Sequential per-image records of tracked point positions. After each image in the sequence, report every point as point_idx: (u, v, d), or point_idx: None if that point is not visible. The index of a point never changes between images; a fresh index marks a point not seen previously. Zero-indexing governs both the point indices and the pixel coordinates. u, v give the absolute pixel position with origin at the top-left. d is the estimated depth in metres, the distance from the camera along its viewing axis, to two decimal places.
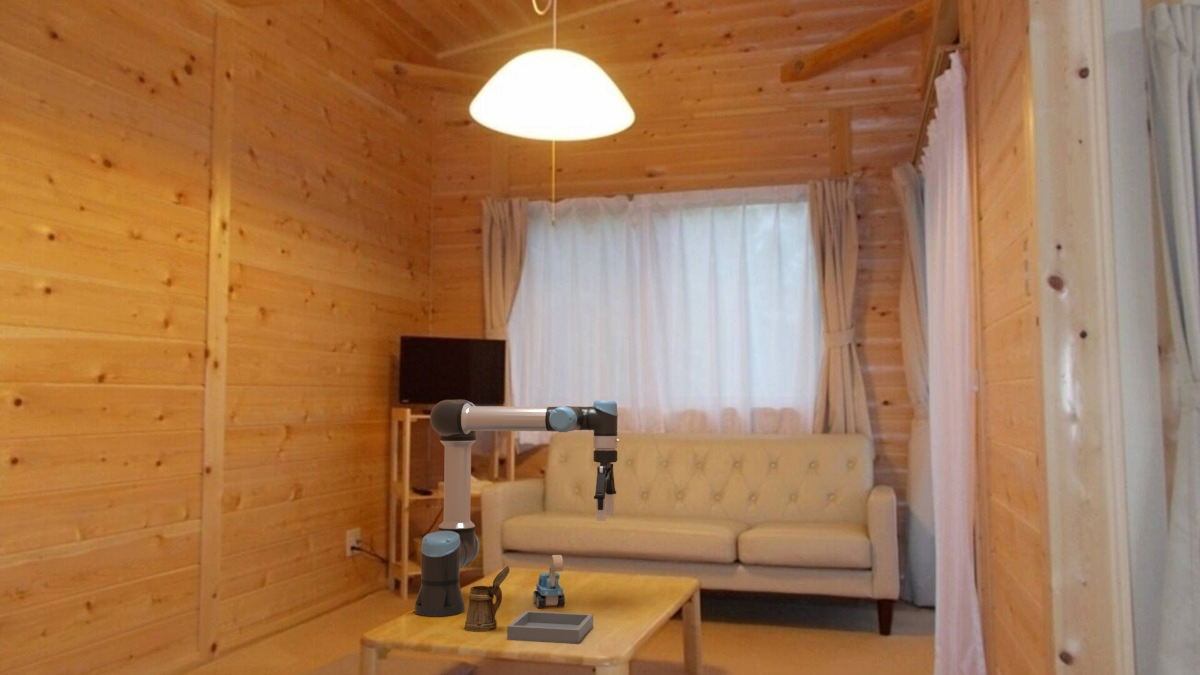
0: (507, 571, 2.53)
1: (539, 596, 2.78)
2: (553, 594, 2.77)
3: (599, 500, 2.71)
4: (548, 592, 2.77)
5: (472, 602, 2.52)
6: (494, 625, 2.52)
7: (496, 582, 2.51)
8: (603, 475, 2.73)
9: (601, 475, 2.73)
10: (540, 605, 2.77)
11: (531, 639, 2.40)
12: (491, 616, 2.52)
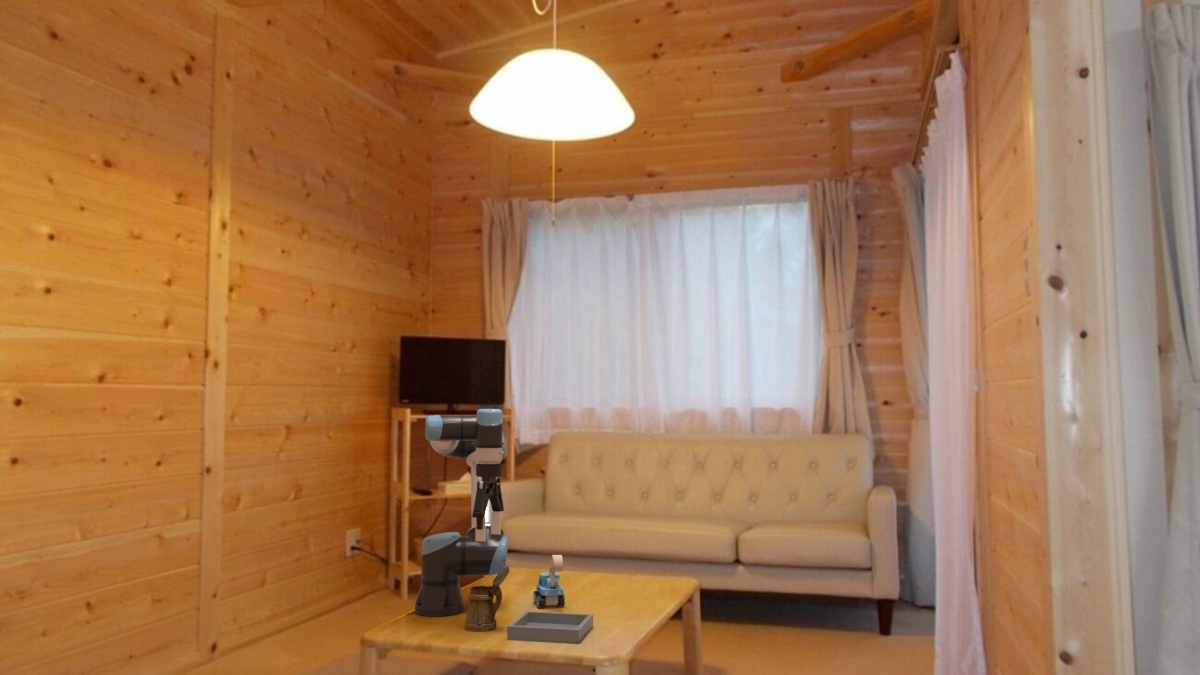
0: (507, 571, 2.53)
1: (539, 596, 2.78)
2: (553, 594, 2.77)
3: (478, 519, 2.47)
4: (548, 592, 2.77)
5: (472, 602, 2.52)
6: (494, 625, 2.52)
7: (496, 582, 2.51)
8: (483, 491, 2.49)
9: (481, 491, 2.49)
10: (540, 605, 2.77)
11: (531, 639, 2.40)
12: (491, 616, 2.52)
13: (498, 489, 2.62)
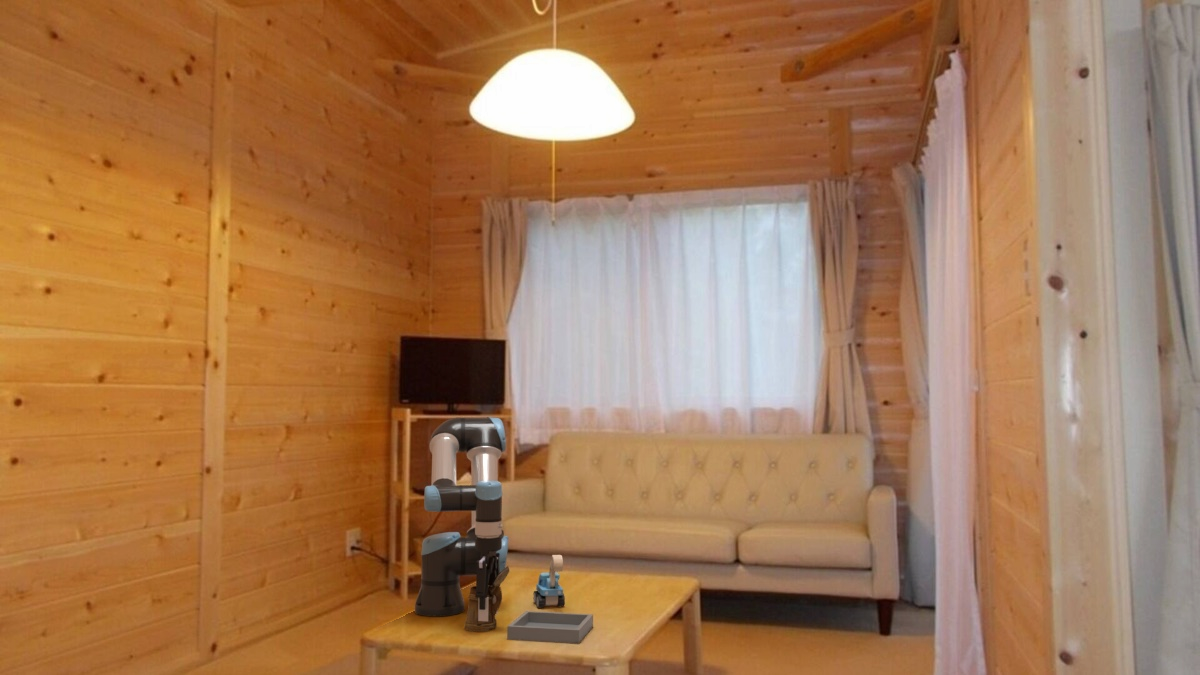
0: (507, 571, 2.53)
1: (539, 596, 2.78)
2: (553, 594, 2.77)
3: (481, 599, 2.49)
4: (548, 592, 2.77)
5: (472, 602, 2.52)
6: (494, 625, 2.52)
7: (496, 582, 2.51)
8: (483, 571, 2.48)
9: (481, 571, 2.48)
10: (540, 605, 2.77)
11: (531, 639, 2.40)
12: (491, 616, 2.52)
13: (496, 564, 2.60)
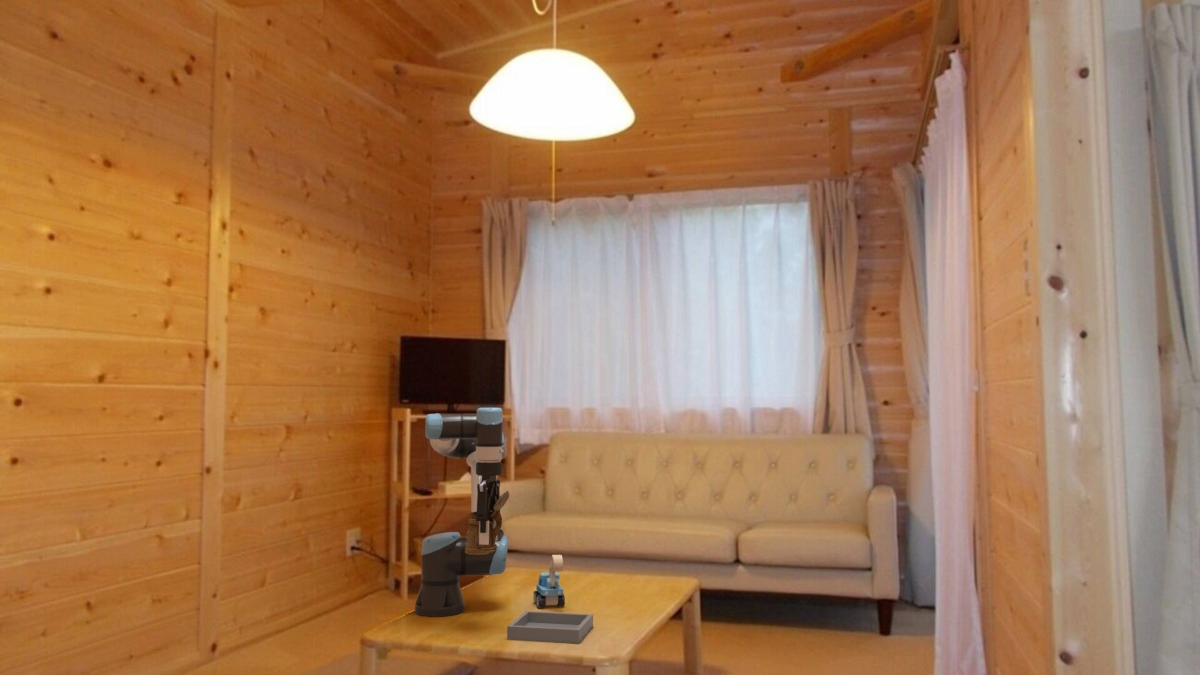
0: (507, 496, 2.54)
1: (539, 596, 2.78)
2: (553, 594, 2.77)
3: (481, 522, 2.50)
4: (548, 592, 2.77)
5: (472, 526, 2.53)
6: (494, 549, 2.54)
7: (496, 506, 2.52)
8: (484, 494, 2.50)
9: (482, 494, 2.50)
10: (540, 605, 2.77)
11: (531, 639, 2.40)
12: (491, 540, 2.54)
13: (497, 491, 2.61)
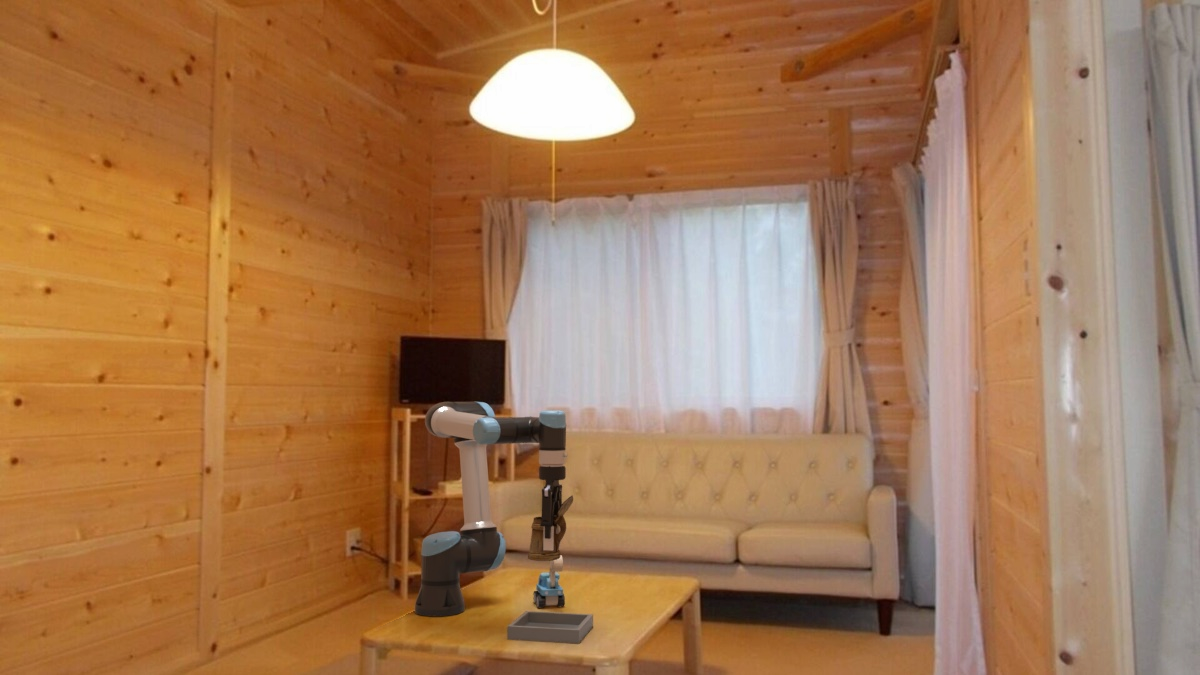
0: (571, 500, 2.49)
1: (539, 596, 2.78)
2: (553, 594, 2.77)
3: (546, 528, 2.45)
4: (548, 592, 2.77)
5: (536, 532, 2.48)
6: (558, 555, 2.49)
7: (560, 511, 2.47)
8: (549, 499, 2.45)
9: (546, 499, 2.45)
10: (540, 605, 2.77)
11: (531, 639, 2.40)
12: (555, 546, 2.49)
13: (559, 496, 2.56)
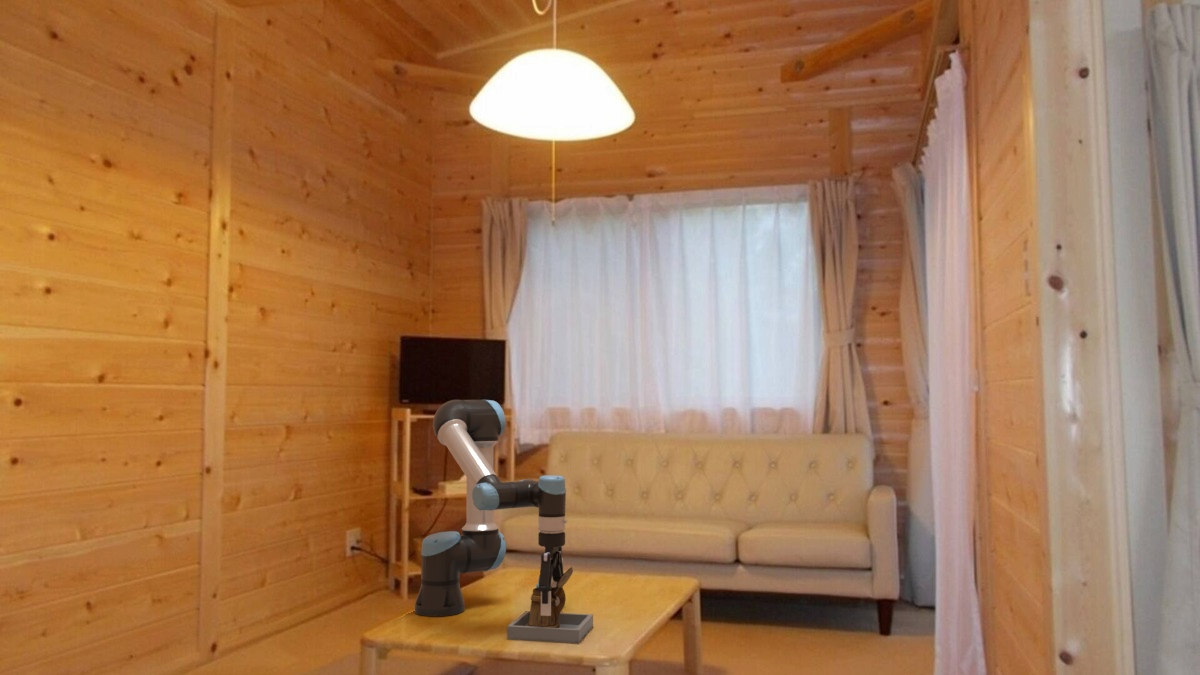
0: (571, 572, 2.48)
1: None
2: None
3: (543, 593, 2.42)
4: None
5: (535, 604, 2.47)
6: (557, 627, 2.47)
7: (560, 583, 2.46)
8: (548, 564, 2.43)
9: (545, 564, 2.43)
10: None
11: (531, 639, 2.40)
12: (554, 618, 2.47)
13: (559, 558, 2.56)
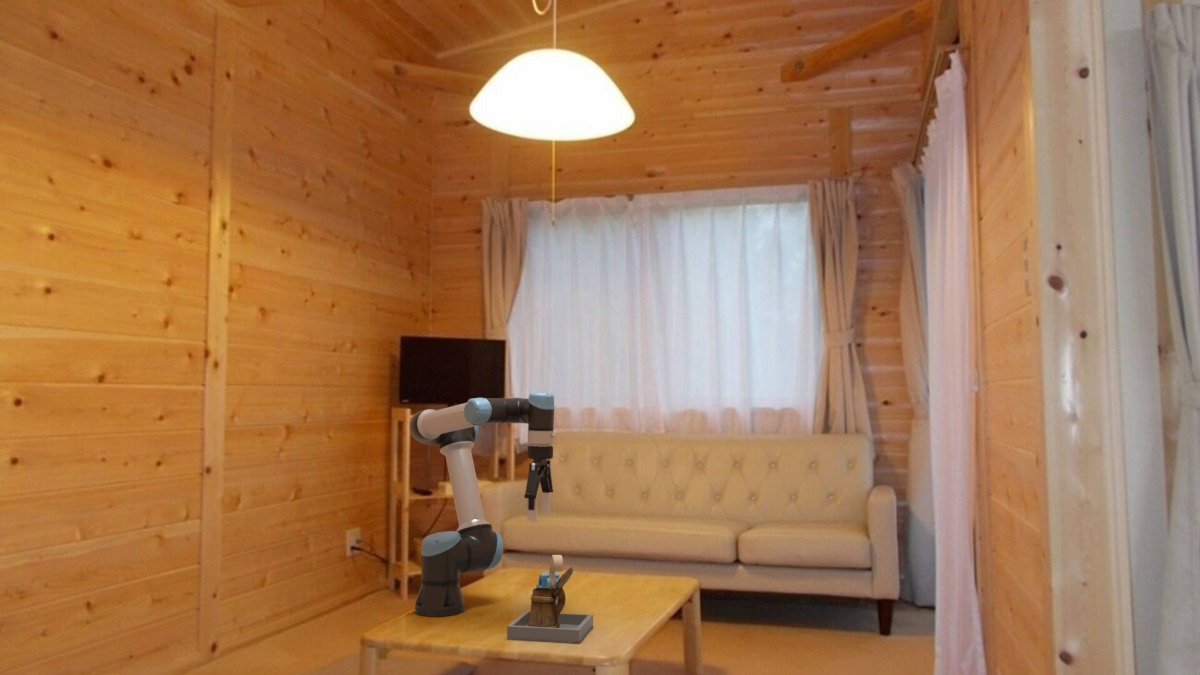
0: (570, 572, 2.48)
1: None
2: None
3: (530, 499, 2.53)
4: None
5: (535, 604, 2.47)
6: (557, 627, 2.47)
7: (560, 584, 2.46)
8: (535, 473, 2.55)
9: (533, 473, 2.55)
10: None
11: (531, 639, 2.40)
12: (554, 618, 2.47)
13: (548, 471, 2.68)
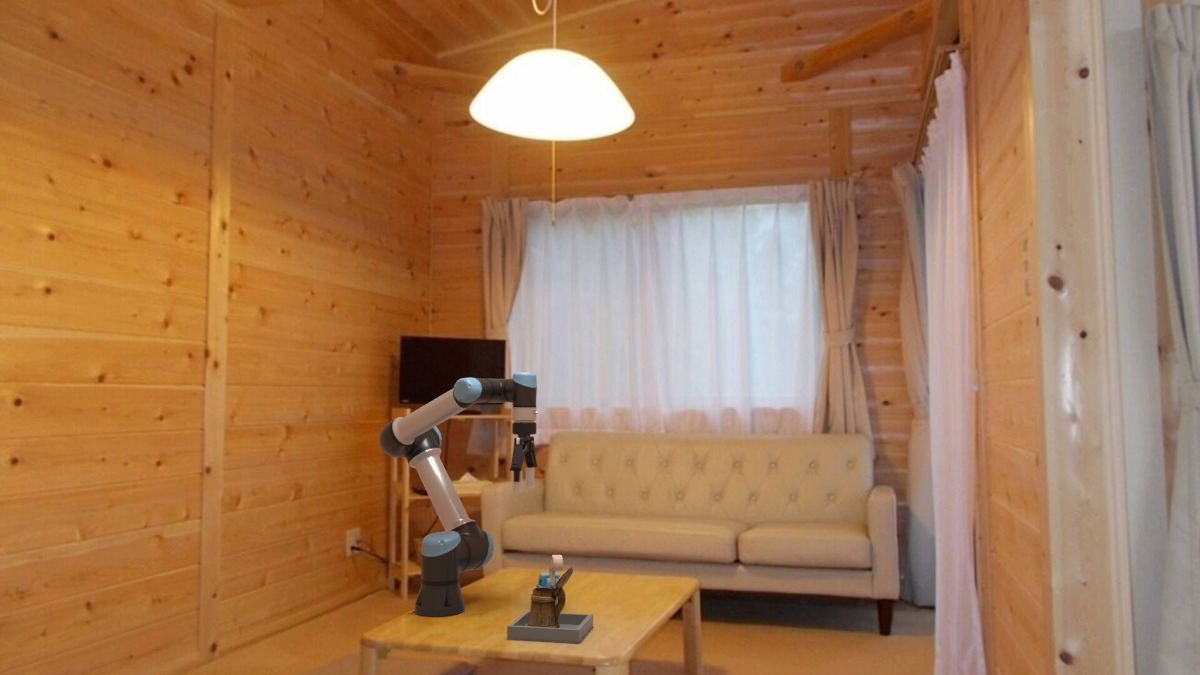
0: (571, 572, 2.48)
1: None
2: None
3: (515, 472, 2.69)
4: None
5: (535, 604, 2.47)
6: (557, 627, 2.47)
7: (560, 584, 2.46)
8: (520, 447, 2.70)
9: (518, 447, 2.70)
10: None
11: (531, 639, 2.40)
12: (554, 618, 2.47)
13: (532, 447, 2.83)
